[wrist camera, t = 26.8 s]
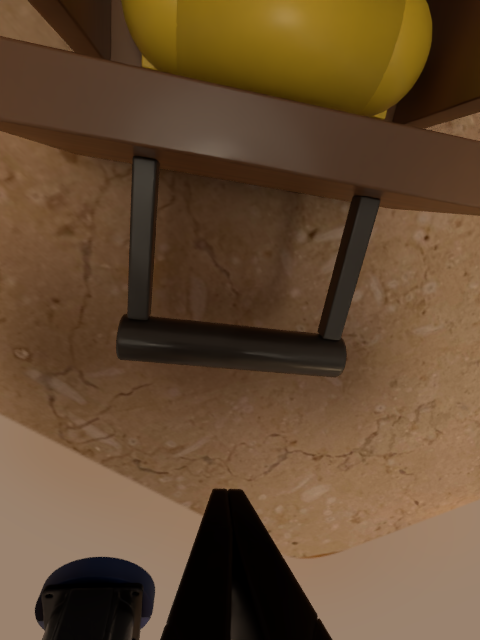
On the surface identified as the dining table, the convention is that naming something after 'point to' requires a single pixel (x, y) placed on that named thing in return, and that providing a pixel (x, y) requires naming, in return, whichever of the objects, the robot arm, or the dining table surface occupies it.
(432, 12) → the drawer
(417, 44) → the yellow rounded block
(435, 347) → the dining table surface
